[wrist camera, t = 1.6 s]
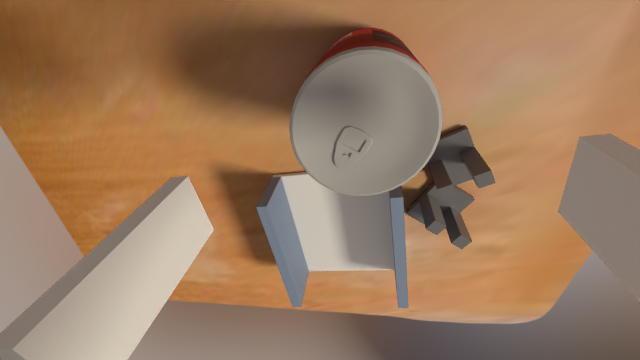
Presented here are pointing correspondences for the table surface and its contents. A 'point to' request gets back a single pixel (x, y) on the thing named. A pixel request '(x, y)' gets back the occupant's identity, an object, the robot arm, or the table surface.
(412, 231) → the table surface
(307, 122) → the canned food
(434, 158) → the clip
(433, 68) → the table surface
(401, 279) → the holder
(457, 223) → the clip
